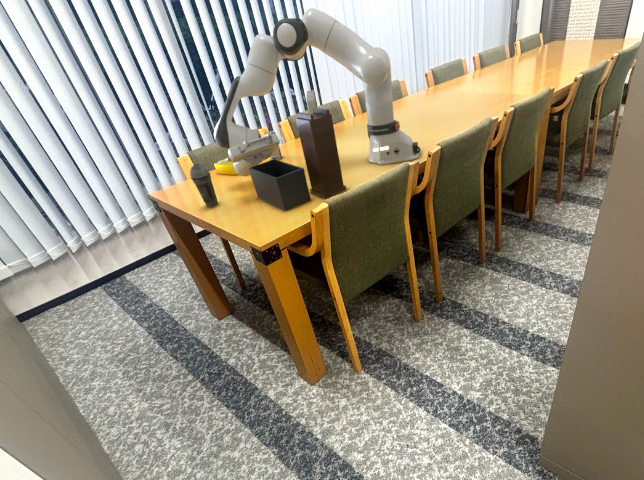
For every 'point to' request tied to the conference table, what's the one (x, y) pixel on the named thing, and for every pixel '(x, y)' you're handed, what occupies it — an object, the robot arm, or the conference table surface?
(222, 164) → the element tile
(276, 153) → the energy drink
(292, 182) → the waste bin
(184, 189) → the conference table surface
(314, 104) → the network device
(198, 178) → the beverage cup
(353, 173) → the conference table surface
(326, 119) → the bottle stand
